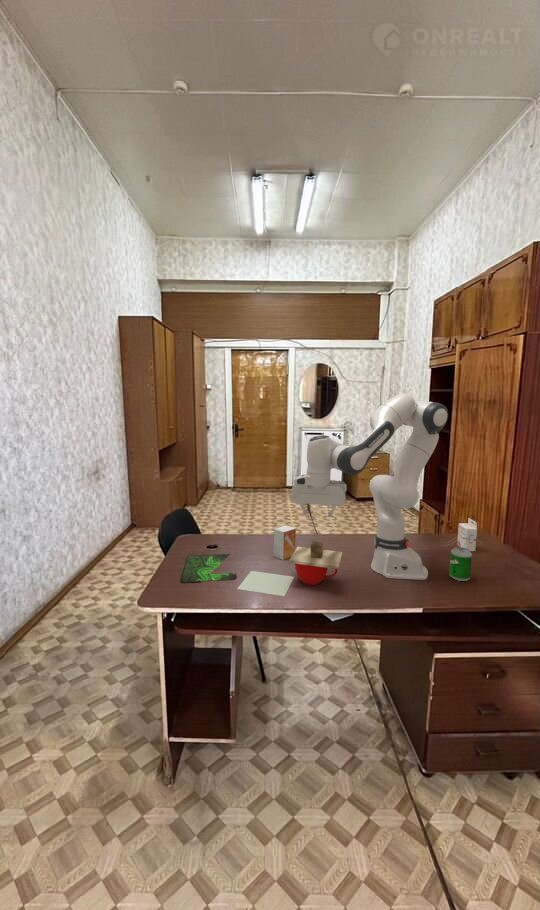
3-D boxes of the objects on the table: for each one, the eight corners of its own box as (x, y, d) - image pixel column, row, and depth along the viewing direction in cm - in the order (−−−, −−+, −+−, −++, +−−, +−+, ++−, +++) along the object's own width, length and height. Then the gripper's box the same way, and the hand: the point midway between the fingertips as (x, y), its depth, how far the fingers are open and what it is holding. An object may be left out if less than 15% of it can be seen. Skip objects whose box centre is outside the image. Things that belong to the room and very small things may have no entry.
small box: (283, 560, 167) (283, 532, 165) (273, 556, 172) (273, 528, 170) (295, 555, 173) (296, 528, 171) (285, 551, 177) (286, 524, 175)
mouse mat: (186, 556, 172) (186, 554, 172) (235, 554, 174) (235, 552, 174) (179, 584, 145) (179, 581, 145) (237, 581, 147) (237, 579, 147)
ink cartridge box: (456, 546, 186) (458, 517, 184) (466, 546, 186) (468, 517, 184) (464, 552, 178) (467, 522, 176) (475, 553, 178) (478, 522, 176)
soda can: (468, 576, 153) (470, 547, 152) (471, 584, 146) (473, 554, 145) (447, 573, 156) (449, 545, 154) (450, 581, 149) (452, 551, 147)
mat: (294, 577, 150) (294, 576, 150) (284, 597, 135) (284, 596, 135) (251, 571, 155) (251, 570, 155) (237, 589, 140) (237, 588, 140)
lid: (342, 554, 149) (342, 539, 148) (338, 569, 136) (338, 552, 135) (297, 549, 154) (297, 534, 153) (289, 562, 141) (289, 547, 140)
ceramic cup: (330, 596, 136) (331, 569, 135) (288, 584, 145) (288, 559, 143) (342, 581, 148) (343, 557, 146) (302, 572, 156) (303, 548, 154)
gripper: (347, 479, 141) (346, 515, 143) (293, 476, 147) (293, 511, 148) (346, 482, 135) (344, 520, 137) (290, 479, 141) (289, 515, 142)
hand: (317, 515), depth 143 cm, fingers open, 8 cm apart
